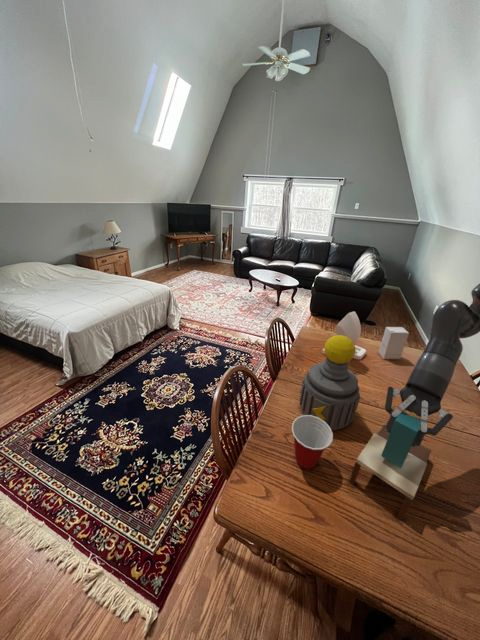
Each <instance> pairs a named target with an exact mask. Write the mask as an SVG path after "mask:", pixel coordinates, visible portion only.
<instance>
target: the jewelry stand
mask: <svg viewBox="0 0 480 640" xmlns="http://www.w3.org/2000/svg"><path fill="white" fill-rule="evenodd" d="M333 333H334V334H335V335H343V336H346V337H348V338H349V339H351V341H352V342H353V344H354V346H355V354H354V357H353V358H352V359H354V360H358V361H359V360H362V359H363V358H364V357H365V356H366V354H367V350H366V349H365V348H364V347H361V346H359V345H357V343H358V341H359V339H360V337H361V334H362V325H361V322H360V319H359V316H358V314H357V313H356V311H351V312H350V311H349V312H348V313H347V314H346V315H345V316H344V317H343V318H342V319H341V320H340V321H339V322H338V323H337V325H336V326H335V328H334V330H333ZM321 354H323V355H325V351H324V348H323V349H322V352H321Z"/></svg>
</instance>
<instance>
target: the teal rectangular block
mask: <svg viewBox="0 0 480 640" xmlns="http://www.w3.org/2000/svg"><path fill="white" fill-rule="evenodd" d="M420 426H421V420H420V419H419V418H418V417H415V416H413V415H411V414H409V413H407V412H406V411H405V412H402V413H400V414H399V415H398V416H397V418H396V420H395V422H394V424H393V427H392V429H391V432H390V434H389V437H388V440H387V442H386V445H385V447H384V450H383V452H382V455H381V456H382V457H383V458H385V459H387V460H388V461H390V462H391V463H393V464H395V465H396V466H398V467H399V468H402V466H403V463H404V461H405V459H406V457H407V455H408V453H409V451H410V448H411V445H412V443H413V441H414V439H415V437H416V435H417V432H418V430H420Z"/></svg>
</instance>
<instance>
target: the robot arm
mask: <svg viewBox="0 0 480 640" xmlns="http://www.w3.org/2000/svg"><path fill="white" fill-rule="evenodd" d="M470 294H471V298H472V301H471V304H470V305H468V304H467V303H465V302H464V301H462V300H459V299H449V300H447V301H445V302H443V303H441V304H440V305H439V306H438V307H437V308H436V310H435V311H434V314H433V317H432V320H431V326H430V331H429V339H428V341H427V344H426V345H425V346H424V347H425V348H424V349H423V352H422V353H421V355H420V356H419V358H418V360H417V361H416V363H415V365H414V367H413V369H412V371H411V373H410V375H409V377H408V380H406V383H405V386H404V387H402V388H401V389H397V388H394V387H393V386H388V387H387V391H386V398H385V405H384V409H385V412H387V413H388V414H389V415H390V416H389V418H388V421H387V423H386V424H385V425H386V429H387V432H388V433H390V432H391V429H392V427H393V424H394V422H395V420H396V418H397V416H398V415H399V414H400V413H402V412H405V413H406V411H407V412H409V413H412V414H415V415H416V416H417V417H419V418H420V419H419V420H421V426H420V429H419V430H418V432H417V435H416V437H415V439H414V441H413V443H412V445H411V446H413V447H414V448H415V445H416V446H419V445H422V442H423V439H424V438H425V436H426V435H430V436H433V437H435V436H437V435H438V434H439V433H440V432H441V431H442V430H443V429H444V427H446V425H448V424H449V423H450V421H452V419H453V418H454V416H453V414H452V413H449V412H447V411H446V410H444V409H443V408H442V405H441V403H442V400H443V398H444V396H445V394H446V392H447V390H448V387H449V385H450V383H451V382H452V378H453V376H454V375H455V374H454V373H455V369H456V367H457V364H458V362H459V360H460V358H461V356H462V353H463V350H464V346H463V343H462V341H461V340H460V339H467V338H471V337H473V336H475V335H477V334H479V333H480V283H478V284H477V285H476V286H475V287H473V288H472V290H471V293H470ZM398 395H399V397H400V399H401V403H400V404H399V406H398V407H397V408H395V409H393V408H392V406H393V399H395V398H397V396H398ZM436 413H438V420H439V421H438V422H437V423H436V424H435V425H434V426H433V427H428V419H429V418H428V417H429V416H431V415H433V414H436Z"/></svg>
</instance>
